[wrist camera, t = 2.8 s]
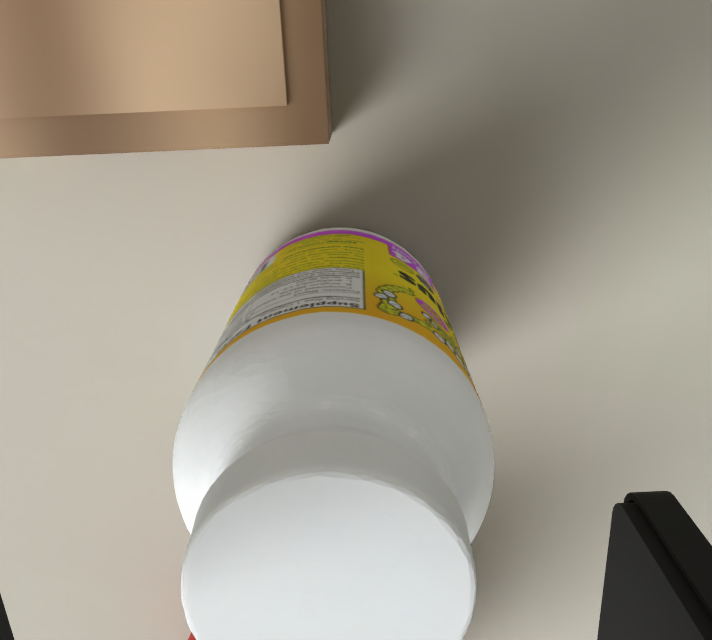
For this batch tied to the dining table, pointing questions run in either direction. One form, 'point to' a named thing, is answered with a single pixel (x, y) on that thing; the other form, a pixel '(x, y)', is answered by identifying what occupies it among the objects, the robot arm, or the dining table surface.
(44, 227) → the dining table surface
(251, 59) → the bronze plinth
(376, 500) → the supplement bottle
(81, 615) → the dining table surface
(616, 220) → the dining table surface
